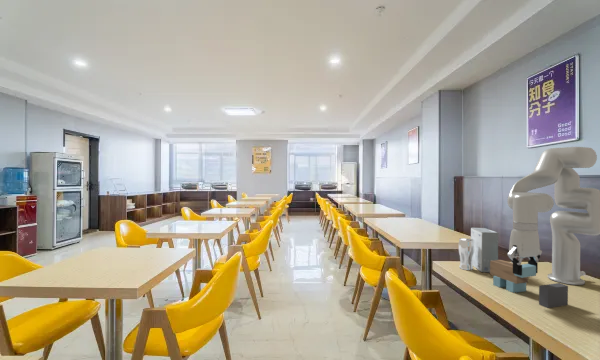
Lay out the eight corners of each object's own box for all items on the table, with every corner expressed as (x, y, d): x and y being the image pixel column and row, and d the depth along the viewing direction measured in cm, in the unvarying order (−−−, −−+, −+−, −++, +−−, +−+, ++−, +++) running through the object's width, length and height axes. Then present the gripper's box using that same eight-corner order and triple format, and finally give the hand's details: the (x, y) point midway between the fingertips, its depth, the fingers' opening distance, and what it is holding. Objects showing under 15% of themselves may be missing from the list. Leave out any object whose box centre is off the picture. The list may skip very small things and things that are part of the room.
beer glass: (455, 267, 153) (455, 238, 153) (464, 265, 156) (464, 237, 156) (467, 271, 147) (467, 241, 147) (477, 269, 150) (477, 240, 149)
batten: (528, 273, 114) (528, 263, 114) (536, 275, 112) (536, 265, 112) (514, 275, 113) (514, 265, 112) (522, 277, 110) (522, 267, 110)
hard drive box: (498, 273, 144) (499, 232, 143) (481, 272, 145) (481, 232, 145) (485, 264, 159) (485, 227, 159) (469, 263, 160) (470, 227, 160)
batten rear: (505, 283, 130) (505, 274, 130) (512, 285, 127) (512, 276, 127) (493, 284, 128) (493, 275, 128) (499, 287, 125) (499, 278, 125)
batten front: (519, 288, 124) (519, 279, 124) (526, 291, 121) (526, 281, 121) (506, 290, 122) (506, 280, 122) (513, 292, 120) (513, 282, 119)
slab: (500, 273, 132) (500, 259, 132) (527, 282, 120) (528, 267, 120) (490, 274, 130) (490, 260, 130) (516, 283, 119) (516, 268, 119)
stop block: (558, 301, 111) (558, 283, 111) (567, 304, 108) (568, 285, 108) (539, 304, 108) (539, 285, 108) (547, 307, 106) (548, 288, 106)
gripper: (532, 223, 118) (532, 267, 118) (498, 226, 113) (498, 272, 113) (552, 226, 110) (552, 274, 111) (517, 230, 106) (517, 279, 106)
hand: (525, 272), depth 112 cm, fingers closed on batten, 7 cm apart
